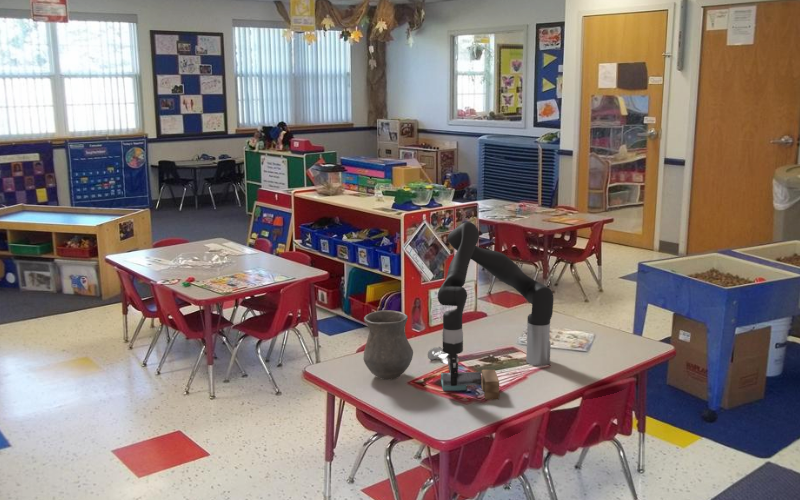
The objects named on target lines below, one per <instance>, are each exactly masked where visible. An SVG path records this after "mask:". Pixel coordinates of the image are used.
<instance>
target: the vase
mask: <svg viewBox="0 0 800 500" xmlns="http://www.w3.org/2000/svg"><path fill="white" fill-rule="evenodd" d="M408 317H409V316H408V315H407V314H406V313H405V312H402V311H396V310H390V309H389V310H388V309H387V310H385V309H384V310H383V309H382V310H378V311H377V310H376V311H374V312H373V311H372V312H370V313H368V314H366V315H365V316H364V317H363V321H364V323H366V325H367V327H368V329H369V333H368V335H367V339H366V343H365V346H364V351H363V362H364V364H365V366H366V368H367V369H368V370H369V371H370V373H371V374H372V375H373V376H375V377H376V378H377V379H380V380H386V381H387V380H388V381H391V380H396V379H398V378H399V377H401V376H402V375H403V374H405V372H406V370H407V369H408V368H409V367H410V365H411V362H412V360H413V356H414V349H413V348H412V346H411V344H410V342H409V340H408V337H407V335H406V331H405V330H406V325H407V321H408Z"/></svg>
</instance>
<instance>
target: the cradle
mask: <svg viewBox="0 0 800 500" xmlns="http://www.w3.org/2000/svg"><path fill="white" fill-rule="evenodd" d="M443 373H444V372H443ZM443 373H442V372H441V373H440V381H441V382H440V383H441V389H442V391H467V387H468V385H462V386H443Z"/></svg>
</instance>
